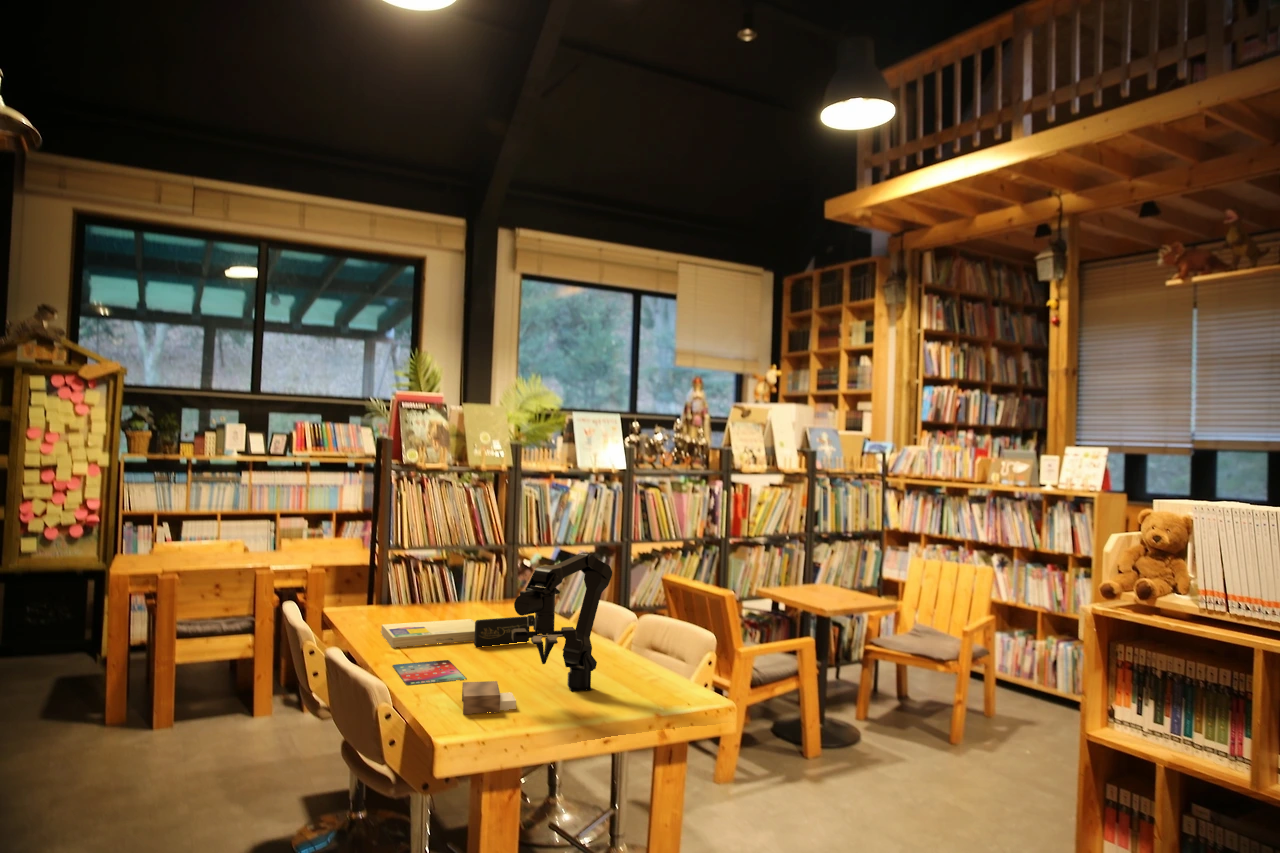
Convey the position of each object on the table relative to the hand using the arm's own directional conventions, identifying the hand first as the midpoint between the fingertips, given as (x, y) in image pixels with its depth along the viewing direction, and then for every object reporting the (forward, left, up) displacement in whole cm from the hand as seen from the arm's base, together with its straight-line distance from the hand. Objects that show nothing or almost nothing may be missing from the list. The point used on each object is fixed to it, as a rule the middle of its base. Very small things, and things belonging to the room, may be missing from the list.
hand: (543, 663), depth 242 cm
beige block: (+14, +3, -11) cm, 18 cm away
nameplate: (+7, -71, -11) cm, 73 cm away
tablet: (+33, -35, -11) cm, 50 cm away
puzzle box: (+32, -86, -12) cm, 93 cm away
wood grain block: (+18, +3, -11) cm, 21 cm away
